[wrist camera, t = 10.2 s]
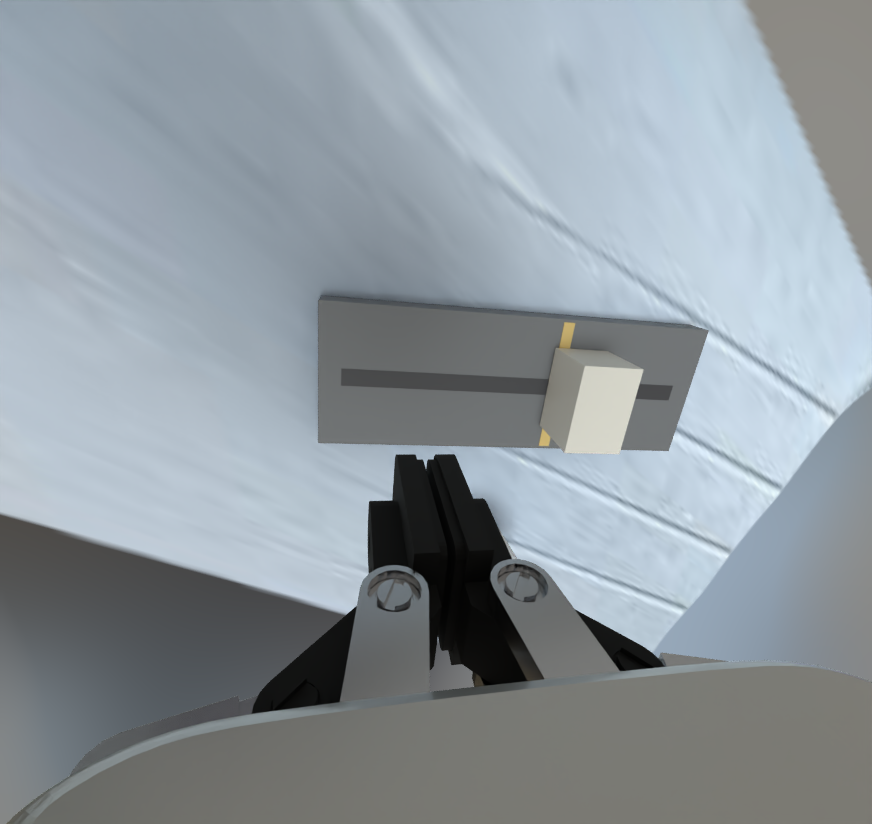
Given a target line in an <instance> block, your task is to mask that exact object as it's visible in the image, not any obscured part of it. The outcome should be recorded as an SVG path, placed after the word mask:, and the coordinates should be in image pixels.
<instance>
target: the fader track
mask: <svg viewBox="0 0 872 824" xmlns="http://www.w3.org/2000/svg"><path fill="white" fill-rule="evenodd" d="M708 331H709V330H705V329H702V328H699V327H695V326H692V325H684V324H671V323H659V322H646V321H634V320H621V319H609V318H596V317H584V316H571V315H559V314H546V313H534V312H521V311H509V310H496V309H484V308H471V307H459V306H446V305H434V304H421V303H409V302H396V301H384V300H371V299H359V298H346V297H334V296H321V297H320V298H319V300H318V443H342V444H387V445H431V446H475V447H520V448H560V447H559V446H558V445H557V444H556V443H555V442H554V441H553V439H552V438H551V437H550V436H549V435H548V434H547V433H546V432H545V431H544V429H543V428H542V427H541V426H540V421H541V417H542V412H543V407H544V402H545V397H546V392H547V387H548V383H549V378H550V373H551V368H552V363H553V358H554V353H555V349H556V348H568V349H583V350H598V351H608V352H610V353H612V354H614V355H616V356H618V357H620V358H622V359H624V360H626V361H628V362H630V363H632V364H634V365H636V366H638V367H640V368H642V369H644V370H643V374H642V377H641V381H640V384H639V388H638V391H637V394H636V398H635V401H634V405H633V408H632V412H631V415H630V419H629V422H628V426H627V429H626V433H625V436H624V440H623V443H622V447H621V450H652V451H669V448H670V445H671V442H672V439H673V436H674V433H675V430H676V427H677V424H678V421H679V418H680V415H681V412H682V409H683V406H684V403H685V400H686V397H687V394H688V391H689V388H690V385H691V382H692V379H693V376H694V373H695V370H696V367H697V364H698V361H699V358H700V355H701V352H702V349H703V346H704V343H705V340H706V337H707V334H708Z"/></svg>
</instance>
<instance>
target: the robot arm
mask: <svg viewBox="0 0 872 824" xmlns="http://www.w3.org/2000/svg"><path fill="white" fill-rule="evenodd" d="M368 566H369V574H368V575H367V576H366V578H365V579H364V580H363V582H362V585H361V587H360V592H359V597H358V603H357V606H356V607H355V608H354V609H353V610H352V611H350V612H349V613H348V614H347V615H346V616H345V617H343V618H342V619H341V620H340V621H339V622H338V623H337V624H335V625H334V626H333V627H332V628H331V629H330V630H329V631H328V632H326V633H325V634H324V635H323V636H322V637H321V638H319V639H318V640H317V641H316V642H315V643H314V644H313V645H311V646H310V647H309V648H308V649H307V650H305V651H304V652H303V653H302V654H301V655H300V656H299V657H297V658H296V659H295V660H294V661H293V662H292V663H290V664H289V665H288V666H287V667H286V668H285V669H284V670H283V671H281V672H280V673H279V674H278V675H277V676H276V677H274V678H273V679H272V680H271V681H270V682H269V683H268V684H267V685H266V686H265V687H264V688H263V690H262V691H261V692H260V693H259V695H258V696H255V697H252V698H249V699H246V700H243V701H240V702H239V696H235V697H232V698H229V699H226V700H223V701H219V702H216V703H213V704H210V705H207V706H203V707H200V708H197V709H194V710H191V711H188V712H184V713H181V714H178V715H175V716H172V717H168V718H165V719H162V720H159V721H156V722H153V723H150V724H146V725H143V726H140V727H137V728H134V729H131V730H127V731H124V732H121V733H119V734H117V735H114V736H112V737H110V738H108V739H106V740H104V741H102V742H101V743H100V744H98V745H97V746H96V747H95V748H93V749H92V750H91V751H89V752H88V753H87V754H86V755H85V756H84V757H83V758H82V760H81V761H80V762H79V763H78V765H77V766H76V767H75V768H74V769H73V771H72V772H71V775H70V776H69V777H67V778H66V779H64V780H63V781H61V782H59V783H58V784H56V785H55V786H53V787H52V788H50V789H48V790H47V791H45V792H44V793H43V794H41V795H40V796H38V797H37V798H36V799H34V800H33V801H32V802H30V803H29V804H28V805H27V806H25V807H24V808H23V809H22V810H21V811H19V812H18V813H17V814H16V815H15V816H14V817H13V818H12V819H11V820H10V821H9V822H8V823H7V824H872V682H871V681H868V680H866V679H863V678H860V677H857V676H854V675H851V674H848V673H845V672H841V671H837V670H834V669H829V668H826V667H821V666H818V665H811V664H804V663H796V662H787V661H768V660H760V661H730V662H729V661H722V660H714V659H706V658H699V657H691V656H683V655H676V654H667V653H661V654H660V656H659V658H657V657H656V656H655V655H654V654H653V653H652V652H650V651H649V650H647V649H646V648H644V647H643V646H641V645H639V644H638V643H636V642H634V641H632V640H630V639H628V638H627V637H625V636H623V635H621V634H619V633H617V632H615V631H614V630H612V629H610V628H608V627H606V626H604V625H603V624H601V623H599V622H597V621H595V620H593V619H591V618H590V617H588V616H586V615H584V614H582V613H580V612H579V611H577V610H575V609H574V608H573V607H572V605H571V604H570V602H569V601H568V600H567V598H566V597H565V596H564V594H563V593H562V592H561V590H560V589H559V587H558V586H557V585H556V583H555V582H554V581H553V579H552V578H551V577H550V576H549V574H548V573H547V572H546V571H545V570H544V569H542V568H541V567H539V566H537V565H536V564H534V563H531V562H529V561H525V560H520V559H512V557H511V555H510V553H509V550H508V548H507V546H506V544H505V542H504V540H503V537H502V535H501V533H500V531H499V529H498V526H497V524H496V522H495V520H494V518H493V515H492V513H491V511H490V509H489V507H488V504H487V502H486V501H485V500H484V499H473V497H472V495H471V492H470V490H469V487H468V485H467V483H466V480H465V478H464V475H463V473H462V471H461V468H460V466H459V463H458V461H457V459H456V456H455V455H454V454H448V455H435V456H434V460H428V461H427V469H425V465H424V462H423V460H417V458H416V455H396V457H395V468H394V484H393V500H392V501H369V514H368ZM437 638H439V643H440V648H441V650H442V651H443V650H448V651H449V655H450V660H451V665H456V664H463V665H464V666H466V667H467V668H469V669H470V670H472V671H473V672H472V680H473V684H474V687H471V688H461V689H452V690H443V691H434V692H430V670H431V669H432V668H433V666H434V660H435V653H436V645H437Z"/></svg>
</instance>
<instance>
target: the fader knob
mask: <svg viewBox="0 0 872 824" xmlns="http://www.w3.org/2000/svg"><path fill="white" fill-rule="evenodd" d="M643 370H644V369H642V368H640V367H638V366H636V365H634V364H632V363H630V362H628V361H626V360H624V359H622V358H620V357H618V356H616V355H614V354H612V353H610V352H608V351H598V350H583V349H568V348H556V349H555V353H554V358H553V363H552V368H551V373H550V378H549V383H548V387H547V392H546V397H545V402H544V407H543V412H542V417H541V421H540V426H541V427H542V428H543V429H544V431H545V432H546V433H547V434H548V435H549V436H550V437H551V438H552V439H553V441H554V442H555V443H556V444H557V445H558V446H559V447H560V448H561V450H562V451H563V452H564V453H590V454H620V450H621V447H622V443H623V440H624V436H625V433H626V429H627V426H628V422H629V419H630V415H631V412H632V408H633V405H634V401H635V398H636V394H637V391H638V388H639V384H640V381H641V377H642V374H643Z"/></svg>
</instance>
